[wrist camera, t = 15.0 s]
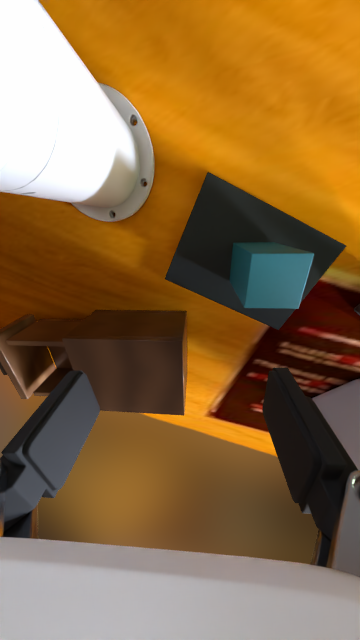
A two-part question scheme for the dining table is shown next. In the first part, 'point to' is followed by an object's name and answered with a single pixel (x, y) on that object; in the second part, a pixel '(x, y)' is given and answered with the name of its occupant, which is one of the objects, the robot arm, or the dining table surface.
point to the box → (357, 309)
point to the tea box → (269, 274)
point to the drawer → (35, 354)
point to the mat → (241, 227)
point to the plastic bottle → (343, 416)
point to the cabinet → (133, 359)
